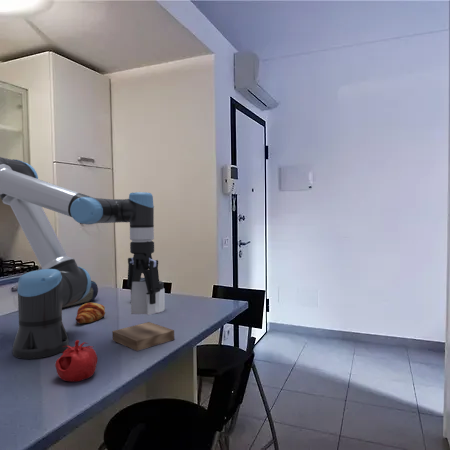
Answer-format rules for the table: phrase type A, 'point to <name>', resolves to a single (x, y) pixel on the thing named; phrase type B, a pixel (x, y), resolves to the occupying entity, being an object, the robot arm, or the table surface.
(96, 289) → the portable speaker
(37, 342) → the robot arm
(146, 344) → the pedestal
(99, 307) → the croissant
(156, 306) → the jar
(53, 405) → the table surface
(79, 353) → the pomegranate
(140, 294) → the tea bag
